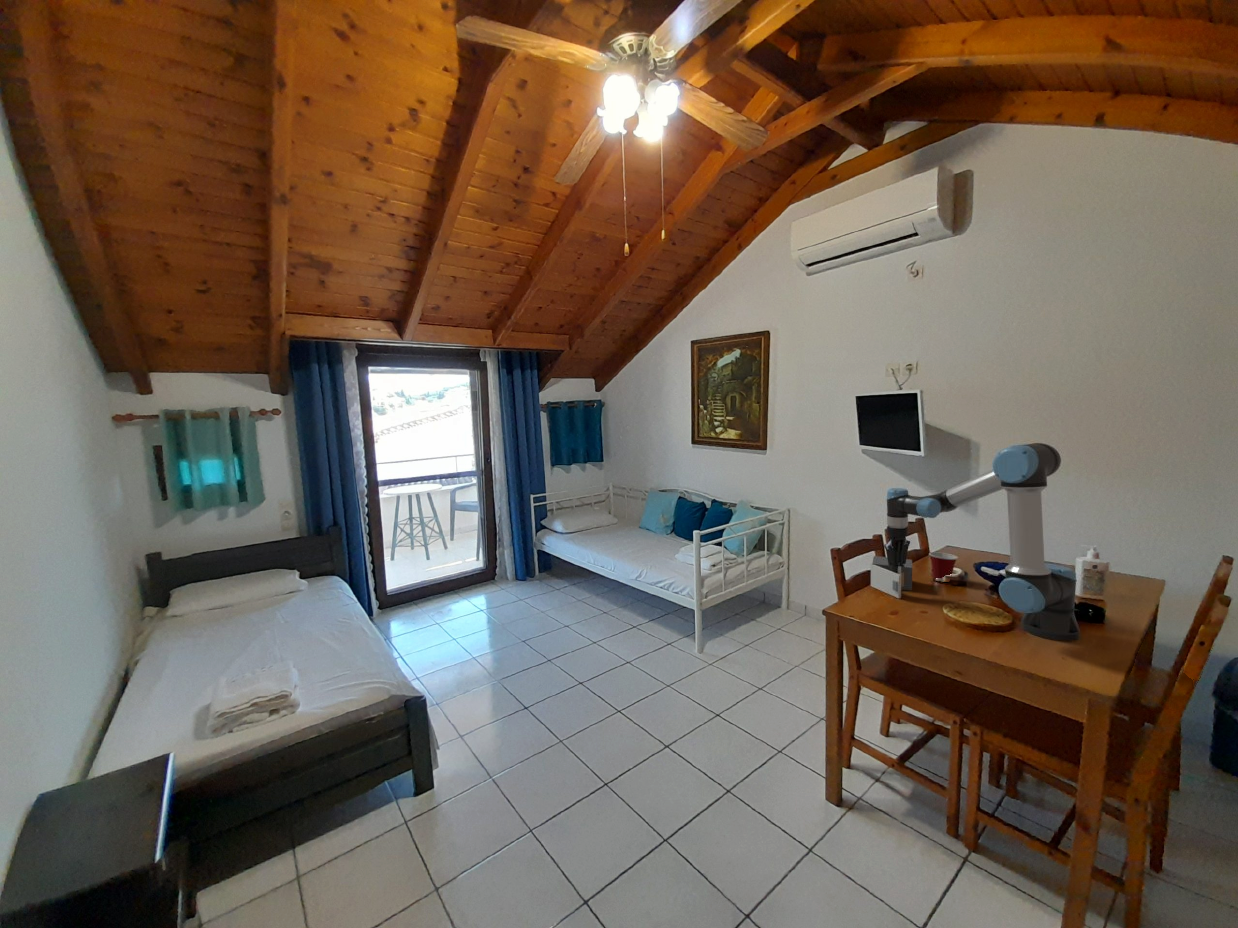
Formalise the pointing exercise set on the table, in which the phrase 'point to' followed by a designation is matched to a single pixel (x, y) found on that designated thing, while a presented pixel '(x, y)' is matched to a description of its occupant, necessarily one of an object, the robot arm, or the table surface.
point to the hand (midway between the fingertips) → (897, 581)
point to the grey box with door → (905, 575)
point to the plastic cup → (942, 564)
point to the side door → (886, 581)
